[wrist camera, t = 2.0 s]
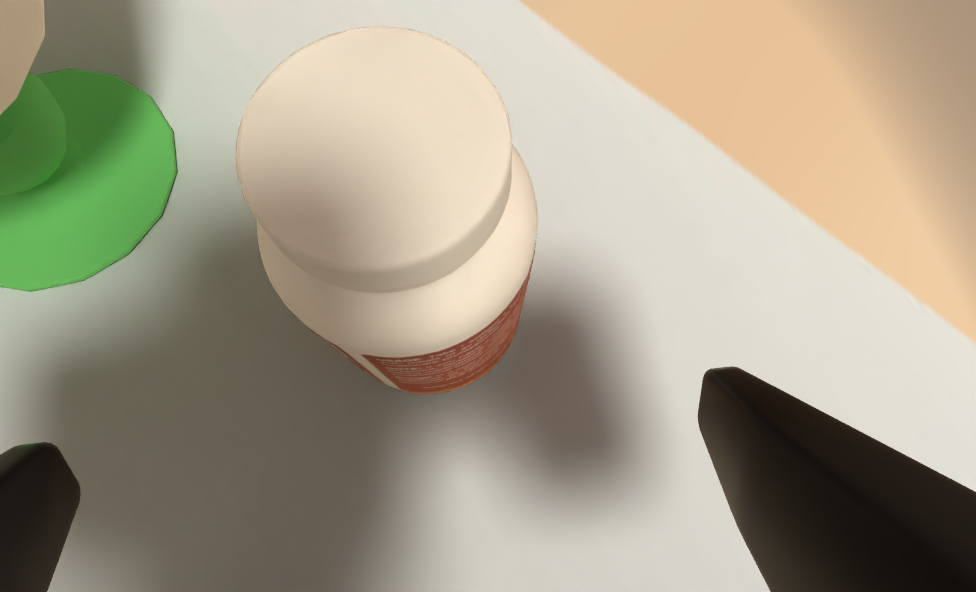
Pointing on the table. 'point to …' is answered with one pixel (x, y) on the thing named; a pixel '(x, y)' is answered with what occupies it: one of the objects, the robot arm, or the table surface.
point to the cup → (72, 162)
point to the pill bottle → (391, 204)
